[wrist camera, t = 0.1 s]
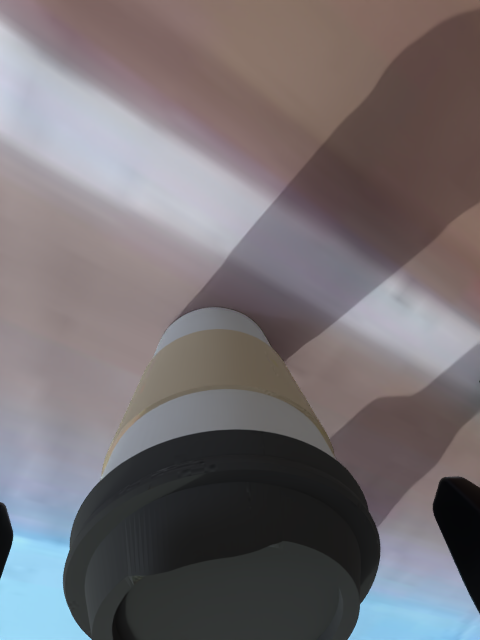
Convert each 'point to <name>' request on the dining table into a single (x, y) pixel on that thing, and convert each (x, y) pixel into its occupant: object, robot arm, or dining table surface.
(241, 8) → the dining table surface
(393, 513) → the dining table surface
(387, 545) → the dining table surface
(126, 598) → the coffee cup
